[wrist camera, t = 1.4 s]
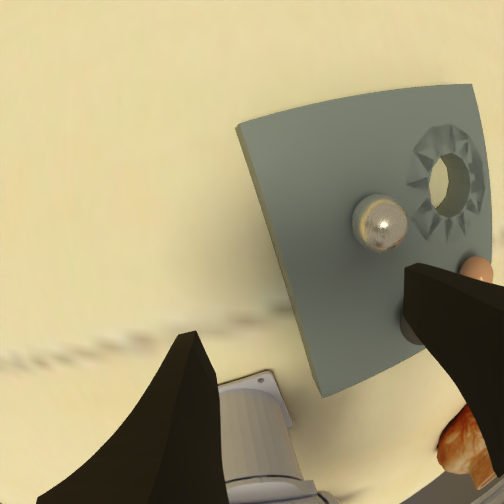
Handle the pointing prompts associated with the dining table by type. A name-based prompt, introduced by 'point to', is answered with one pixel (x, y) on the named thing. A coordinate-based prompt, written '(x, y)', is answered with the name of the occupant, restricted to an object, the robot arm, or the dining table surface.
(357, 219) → the steel ball
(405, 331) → the black ball
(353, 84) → the dining table surface
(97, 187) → the dining table surface
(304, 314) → the plate
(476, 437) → the ceramic vessel
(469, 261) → the terracotta ball
